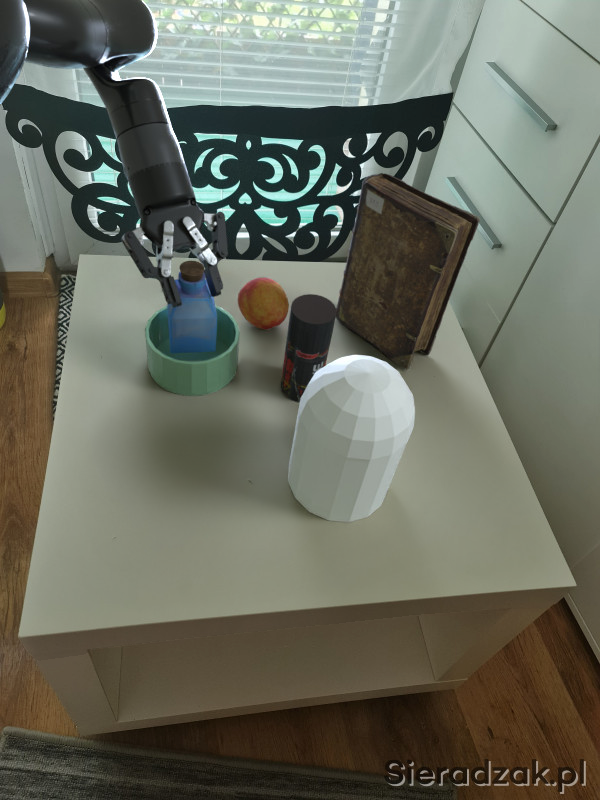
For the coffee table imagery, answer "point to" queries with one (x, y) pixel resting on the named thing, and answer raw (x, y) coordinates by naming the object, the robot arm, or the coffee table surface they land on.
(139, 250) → the robot arm
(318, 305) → the deodorant
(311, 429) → the white dome-topped cylinder
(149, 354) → the green bowl
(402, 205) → the book
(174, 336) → the perfume bottle
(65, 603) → the coffee table surface
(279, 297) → the fruit
